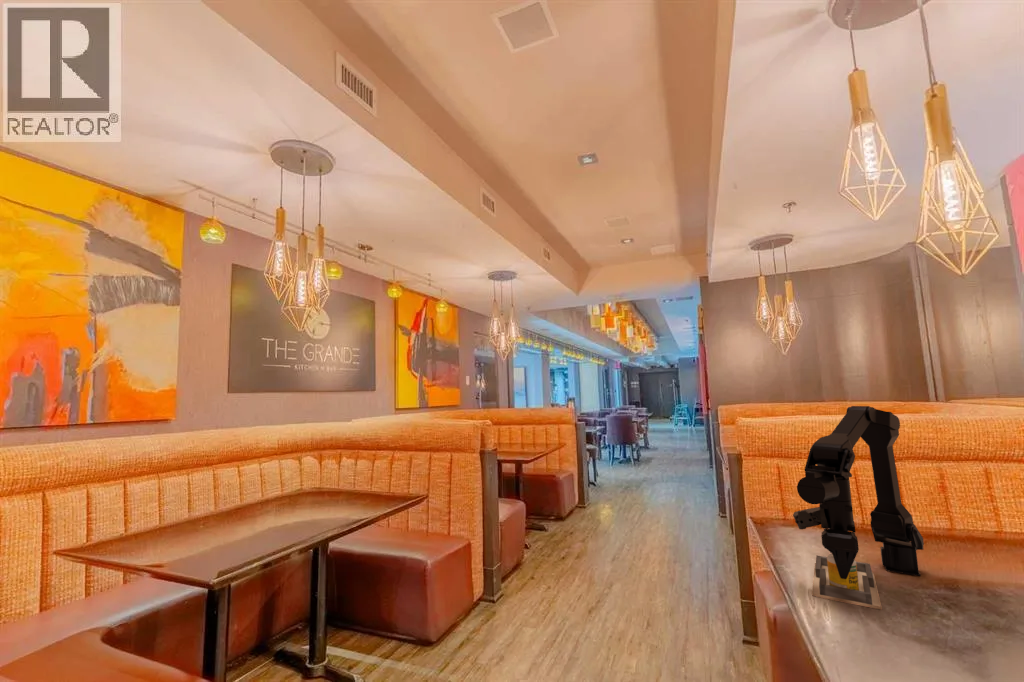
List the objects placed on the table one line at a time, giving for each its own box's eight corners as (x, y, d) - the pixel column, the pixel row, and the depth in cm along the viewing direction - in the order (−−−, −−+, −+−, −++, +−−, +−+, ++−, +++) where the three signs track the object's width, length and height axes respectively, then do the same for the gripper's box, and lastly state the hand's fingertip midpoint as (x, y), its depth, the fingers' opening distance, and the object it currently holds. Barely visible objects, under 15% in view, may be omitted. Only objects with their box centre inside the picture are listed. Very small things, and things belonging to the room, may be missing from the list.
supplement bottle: (836, 585, 103) (831, 541, 104) (864, 593, 99) (859, 547, 100) (825, 591, 100) (821, 546, 102) (853, 600, 96) (849, 552, 97)
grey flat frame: (873, 575, 111) (872, 564, 111) (881, 609, 93) (880, 596, 93) (815, 565, 118) (814, 554, 118) (812, 595, 100) (811, 583, 100)
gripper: (796, 488, 114) (802, 553, 112) (791, 502, 99) (797, 577, 97) (851, 493, 108) (858, 561, 106) (854, 508, 93) (862, 589, 91)
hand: (842, 571), depth 100 cm, fingers open, 9 cm apart
